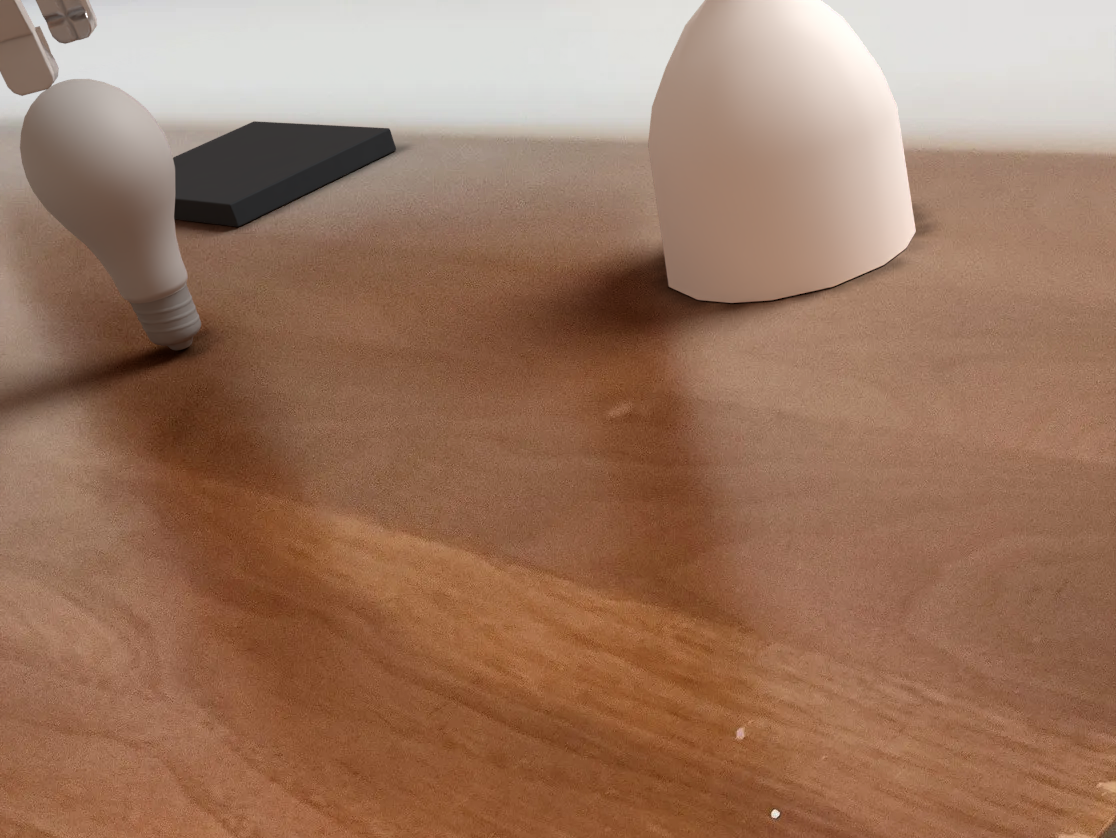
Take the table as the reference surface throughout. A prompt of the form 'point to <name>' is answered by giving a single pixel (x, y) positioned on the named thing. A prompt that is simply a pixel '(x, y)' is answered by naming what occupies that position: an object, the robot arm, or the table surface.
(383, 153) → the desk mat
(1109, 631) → the table surface
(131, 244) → the lightbulb
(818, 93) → the teardrop
